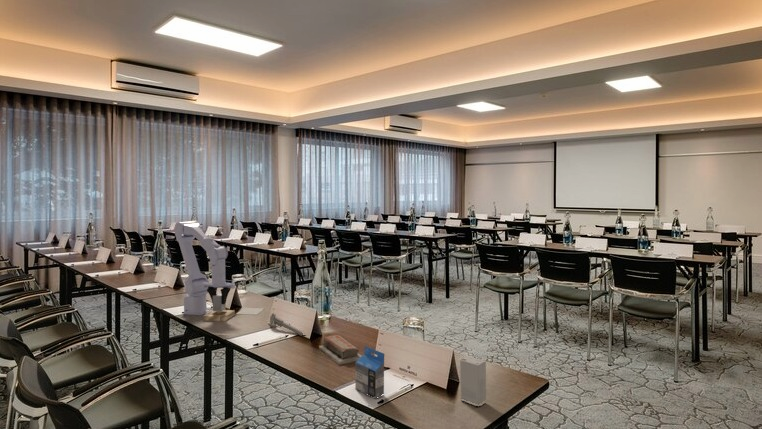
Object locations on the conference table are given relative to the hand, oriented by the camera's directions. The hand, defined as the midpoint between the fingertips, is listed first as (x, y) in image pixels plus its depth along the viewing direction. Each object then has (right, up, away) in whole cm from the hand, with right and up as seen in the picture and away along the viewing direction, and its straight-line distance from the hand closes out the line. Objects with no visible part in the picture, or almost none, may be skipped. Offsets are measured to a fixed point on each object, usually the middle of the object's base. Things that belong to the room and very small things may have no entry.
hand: (219, 303), depth 199 cm
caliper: (+34, -9, -16) cm, 39 cm away
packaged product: (+59, -11, -41) cm, 72 cm away
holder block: (0, -7, 0) cm, 7 cm away
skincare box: (+99, -13, -76) cm, 125 cm away
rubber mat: (+11, -6, +10) cm, 16 cm away
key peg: (0, -3, 0) cm, 3 cm away
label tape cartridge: (+70, -12, -70) cm, 100 cm away
